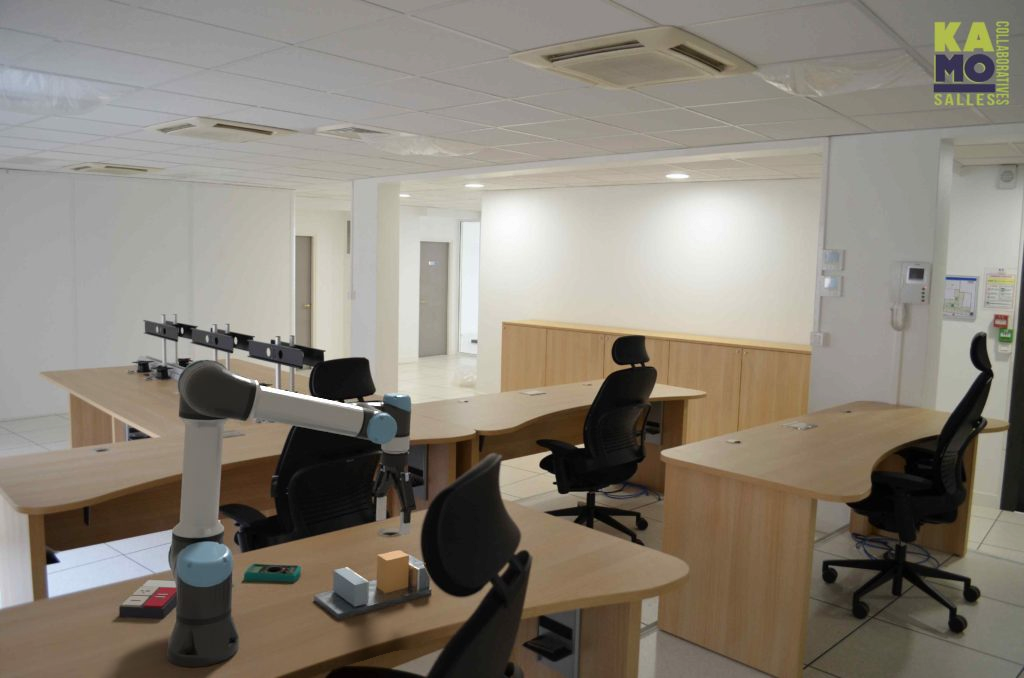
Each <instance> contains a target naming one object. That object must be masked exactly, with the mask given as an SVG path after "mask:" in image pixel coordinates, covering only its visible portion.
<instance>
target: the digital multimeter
mask: <svg viewBox="0 0 1024 678" xmlns="http://www.w3.org/2000/svg"><path fill="white" fill-rule="evenodd" d="M301 571H302V567H301V566H300V565H293V564H291V565H290V564H286V565H285V564H267V563H265V564H262V563H252V564H251V565H250V566H249V567H248V568H247V569H246V570H245V571H244V574H243V576H244V577H243V581H246V582H247V581H249V582H253V581H254V582H276V581H283V582H282V583H295V582H297V580H299V579H300V577H301V573H302V572H301Z"/></svg>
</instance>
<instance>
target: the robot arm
mask: <svg viewBox="0 0 1024 678" xmlns="http://www.w3.org/2000/svg"><path fill="white" fill-rule="evenodd" d="M177 389H178V392H179V400H178V401H179V403H178V405H179V406H178V418H179V419H180V421H182V423H184V441H183V454H182V455H183V457H182V459H183V460H182V472H181V473H182V476H181V490H180V491H181V493H180V494H181V495H180V508H179V509H180V511H179V522H178V523H177V524H176V525H175V526H174V527H173V528H172V533H171V545H170V546H169V550H168V556H167V559H168V561H167V562H168V566H169V568H170V571H171V572H172V576H173V581H175V584H176V592H177V595H176V607H175V609H176V610H175V611H176V612H175V614H176V615H175V616H176V619H175V623H174V625H173V629H172V632H171V634H170V636H169V640H168V643H167V650H166V651H167V652H166V653H167V659H168V661H169V662H171V663H172V664H174V665H176V666H181V667H188V668H189V667H190V668H197V667H206V666H212V665H216V664H219V663H222V662H224V661H226V660H228V659H230V658H231V657H233V656H234V655H235V654H236V653H237V652H238V651H239V649H240V635H239V632H238V629H237V627H236V623H235V620H234V617H233V615H232V610H233V609H232V605H233V600H232V598H233V597H232V596H233V595H232V594H233V569H234V560H233V552H232V551H231V549H230V548H229V546H227V545H226V544H224V540H225V539H224V538H225V526H224V525H223V524H222V523H221V522H220V521H219V514H220V513H219V511H220V496H221V495H220V494H221V493H220V492H221V478H222V477H221V476H222V461H223V444H224V443H223V441H224V428H225V427H224V426H225V424H226V423H227V422H228V421H229V420H230V419H231V420H236V421H243V422H248V421H249V420H251V419H256V420H257V419H258V420H261V421H268V422H272V423H277V424H283V425H284V424H285V425H289V426H294V427H300V428H303V429H304V428H306V429H311V430H316V431H321V432H326V433H327V432H328V433H331V434H338V435H341V436H343V435H344V436H349V437H354V438H357V439H362V440H367V441H370V442H372V443H374V444H377V445H378V444H379V445H381V450H382V451H381V453H380V456H381V457H380V462H379V464H378V471H377V474H376V477H375V480H374V484H373V487H372V493H373V494H375V497H376V506H375V507H376V511H375V512H376V513H375V521H376V522H381V521H385V520H387V501H388V500H387V499H388V497H387V495H388V491H389V489H390V487H391V486H392V487H393V489H394V490H395V491H396V493H397V497H398V501H399V504H400V508H401V509H400V510H399V512H400V513H399V536H406V535H410V534H411V515H412V511H416V510H417V506H416V505H417V504H416V499H415V496H414V495H415V494H414V488H413V484H412V473H411V472H406V471H405V467H406V466H408V465H409V464H410V452H409V451H410V441H411V437H410V435H411V422H412V421H411V417H412V399H411V397H410V394H407V393H402V392H390V393H389V392H388V393H385V394H384V395H383V397H382V400H381V401H377V402H376V401H375V402H374V401H372V402H370V401H369V402H368V401H367V402H346V403H345V402H344V403H343V402H339V401H334V400H329V399H325V398H320V397H315V396H311V395H307V394H306V395H305V394H301V393H297V392H291V391H286V390H283V389H278V388H273V387H267V386H264V385H261V384H260V383H259V382H258V380H256V379H252V378H247V377H244V376H241V375H240V374H236V373H235V372H233V371H231V370H229V369H228V368H227V367H226V366H225V365H224V364H222V362H221V363H220V362H219V361H216V360H211V359H200V360H195V361H192V362H191V363H189V364H188V365H187V366H186V367H184V369H183V370H182V371H181V372H180V375H179V377H178V380H177Z"/></svg>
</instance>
